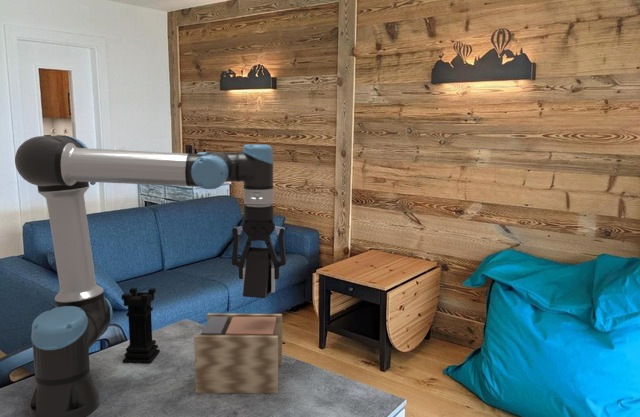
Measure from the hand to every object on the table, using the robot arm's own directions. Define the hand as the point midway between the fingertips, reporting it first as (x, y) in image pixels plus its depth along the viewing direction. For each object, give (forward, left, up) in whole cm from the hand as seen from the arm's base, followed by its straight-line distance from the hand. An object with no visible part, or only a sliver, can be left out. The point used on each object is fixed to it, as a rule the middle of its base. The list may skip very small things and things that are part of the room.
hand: (259, 290), depth 137 cm
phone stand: (0, 0, -1) cm, 1 cm away
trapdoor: (-5, 0, -13) cm, 14 cm away
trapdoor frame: (-5, 0, -25) cm, 25 cm away
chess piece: (-36, +12, -25) cm, 45 cm away
